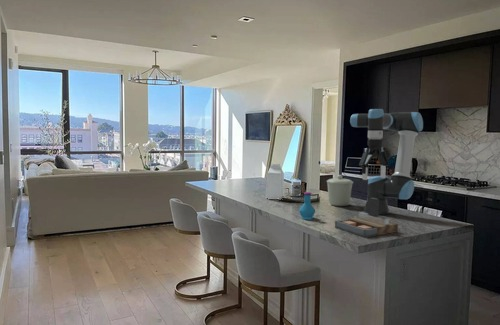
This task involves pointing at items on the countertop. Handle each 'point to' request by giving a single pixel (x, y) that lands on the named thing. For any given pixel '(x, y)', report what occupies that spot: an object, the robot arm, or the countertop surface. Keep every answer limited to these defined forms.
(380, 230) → the board
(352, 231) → the tray
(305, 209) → the perfume bottle
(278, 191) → the milk
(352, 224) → the tile
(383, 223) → the grey bar
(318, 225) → the countertop surface
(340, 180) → the canister
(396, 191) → the robot arm
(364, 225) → the tile
